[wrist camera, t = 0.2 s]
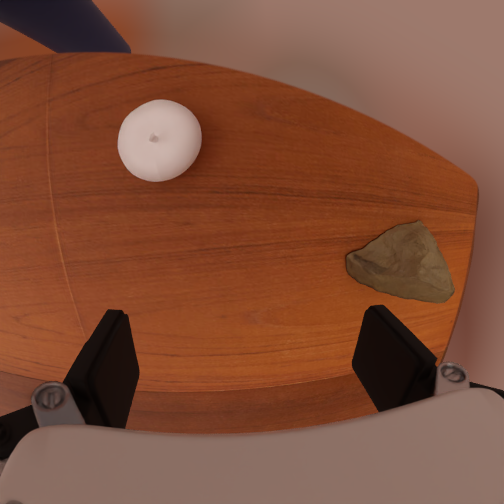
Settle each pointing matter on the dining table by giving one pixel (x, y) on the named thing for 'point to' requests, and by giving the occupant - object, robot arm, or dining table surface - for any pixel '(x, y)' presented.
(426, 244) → the rock
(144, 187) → the dining table surface
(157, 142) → the apple
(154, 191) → the dining table surface
